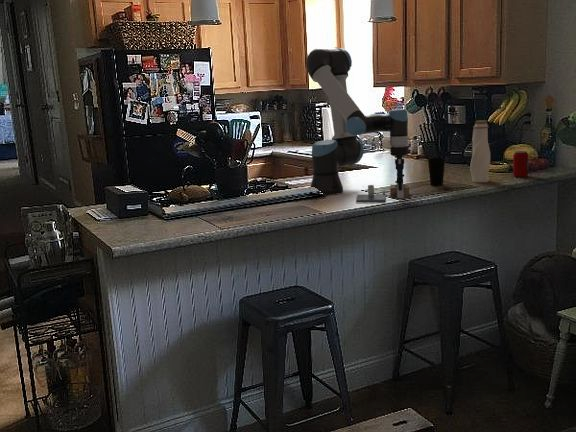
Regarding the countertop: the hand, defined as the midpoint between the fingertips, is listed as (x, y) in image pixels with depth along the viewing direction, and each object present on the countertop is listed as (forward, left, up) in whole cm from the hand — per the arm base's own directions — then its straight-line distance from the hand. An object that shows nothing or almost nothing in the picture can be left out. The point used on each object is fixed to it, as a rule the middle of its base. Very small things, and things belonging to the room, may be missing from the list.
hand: (400, 194), depth 276 cm
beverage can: (+57, +39, 0) cm, 69 cm away
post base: (-12, -9, 0) cm, 15 cm away
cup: (+17, +23, 0) cm, 29 cm away
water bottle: (+37, +30, 0) cm, 48 cm away
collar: (0, 0, 0) cm, 0 cm away
